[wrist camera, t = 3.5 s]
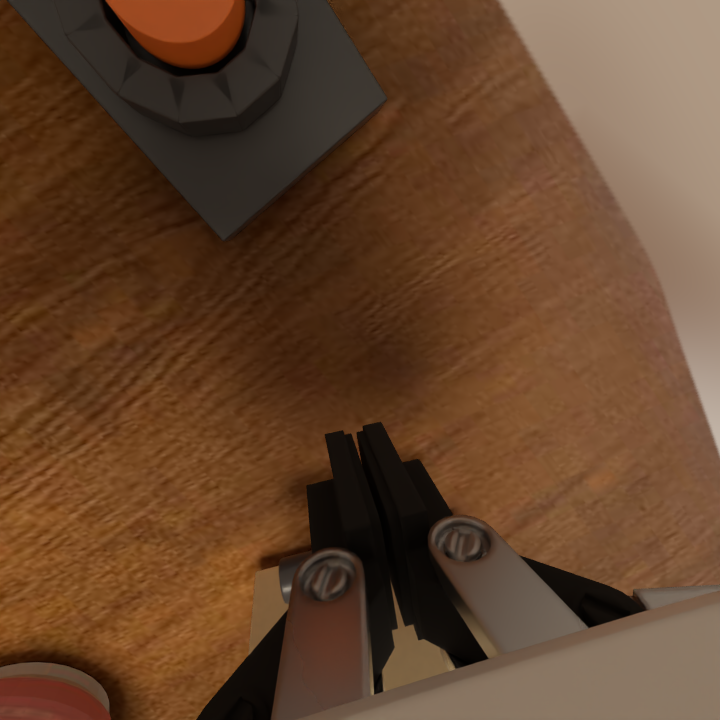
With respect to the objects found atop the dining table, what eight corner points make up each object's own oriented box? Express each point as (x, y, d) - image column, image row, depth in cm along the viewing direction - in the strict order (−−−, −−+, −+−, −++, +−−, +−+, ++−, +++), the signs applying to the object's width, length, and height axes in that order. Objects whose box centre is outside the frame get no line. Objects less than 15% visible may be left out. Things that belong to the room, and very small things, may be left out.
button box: (-23, -42, 12) (-134, -141, 9) (164, -222, 12) (118, -395, 9) (229, 241, 16) (215, 242, 13) (378, 112, 16) (402, 80, 12)
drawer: (234, 502, 19) (205, 654, 12) (455, 450, 20) (542, 558, 13) (304, 731, 25) (312, 921, 18) (472, 678, 26) (538, 835, 19)
